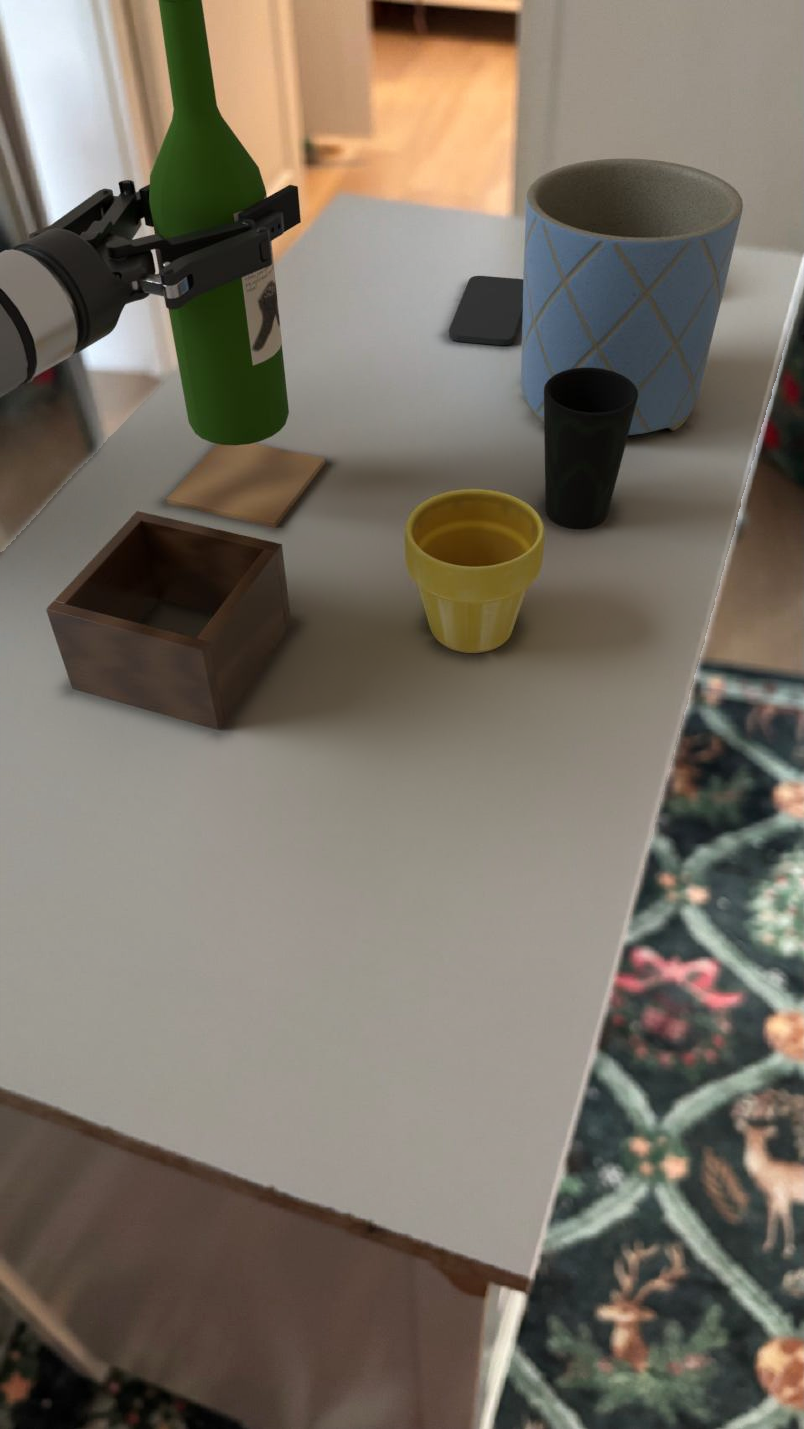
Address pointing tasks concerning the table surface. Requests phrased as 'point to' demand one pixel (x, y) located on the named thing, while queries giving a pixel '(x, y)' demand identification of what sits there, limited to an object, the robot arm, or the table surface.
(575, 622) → the table surface
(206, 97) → the wine bottle
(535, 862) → the table surface
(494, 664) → the table surface
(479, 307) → the phone
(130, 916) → the table surface
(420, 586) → the flower pot
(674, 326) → the planter
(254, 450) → the cork mat
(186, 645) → the holder
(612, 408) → the cup
